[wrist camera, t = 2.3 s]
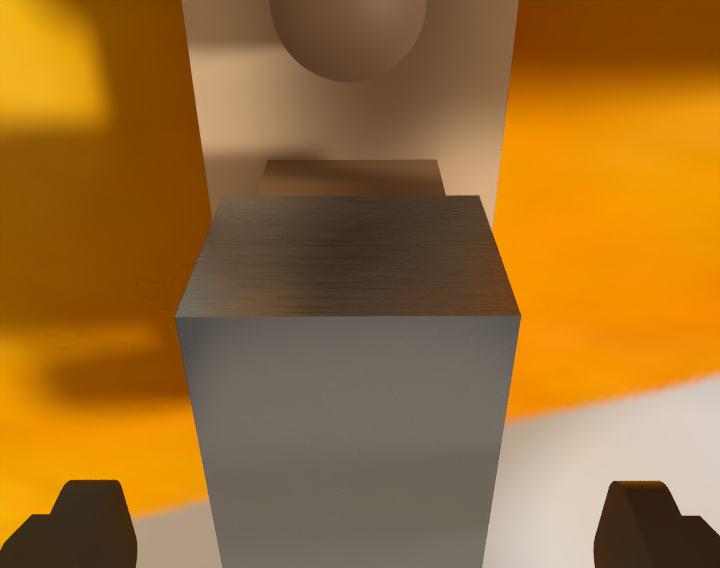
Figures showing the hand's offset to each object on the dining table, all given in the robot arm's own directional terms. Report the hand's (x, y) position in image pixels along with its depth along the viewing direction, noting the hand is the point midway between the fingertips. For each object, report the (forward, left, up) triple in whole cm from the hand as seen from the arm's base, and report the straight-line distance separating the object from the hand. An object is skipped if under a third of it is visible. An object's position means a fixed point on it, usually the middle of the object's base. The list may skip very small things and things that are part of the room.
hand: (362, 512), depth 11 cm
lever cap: (0, 0, -5) cm, 5 cm away
